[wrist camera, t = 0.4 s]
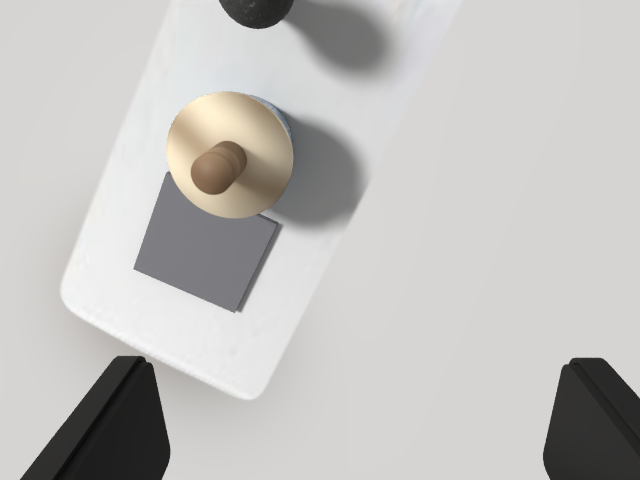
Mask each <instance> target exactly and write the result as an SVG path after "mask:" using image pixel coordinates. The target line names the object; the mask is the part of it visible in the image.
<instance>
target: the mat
mask: <svg viewBox="0 0 640 480" xmlns="http://www.w3.org/2000/svg"><path fill="white" fill-rule="evenodd" d="M277 223H278V222H275V221H273V220H271V219H269V218H267V217H265V216H263V215H260V214H256V215H254V216H250V217H246V218H224V217H220V216H216V215H213V214H210V213H208V212H206V211H204V210H202V209H200V208H199V207H197V206H196V205H194V204H193V203H192V202H191V201H190V200H189V199H187V197H186V196H185V195H184V194H183V193H182V192H181V191H180V189H179V188H178V186H177V185H176V183H175V181H174V179H173V177H172V175H171V172H167V173H166V175H165V178H164V181H163V184H162V187H161V190H160V193H159V196H158V199H157V201H156V204H155V207H154V210H153V213H152V216H151V219H150V222H149V225H148V228H147V231H146V234H145V236H144V239H143V242H142V245H141V248H140V251H139V254H138V257H137V260H136V263H135V266H134V270H137V271H139V272H141V273H144V274H146V275H148V276H150V277H153V278H155V279H157V280H160V281H162V282H164V283H167V284H169V285H171V286H174V287H176V288H178V289H181V290H183V291H185V292H187V293H190V294H192V295H194V296H197V297H199V298H201V299H204V300H206V301H208V302H211V303H213V304H215V305H218V306H220V307H222V308H224V309H227V310H229V311H231V312H234V313H235V311H236V309H237V307H238V305H239V303H240V301H241V299H242V297H243V294H244V292H245V290H246V288H247V286H248V284H249V282H250V280H251V278H252V276H253V274H254V271H255V269H256V267H257V265H258V263H259V261H260V259H261V257H262V255H263V253H264V251H265V249H266V246H267V244H268V242H269V240H270V238H271V236H272V234H273V232H274V230H275V228H276V226H277Z"/></svg>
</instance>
